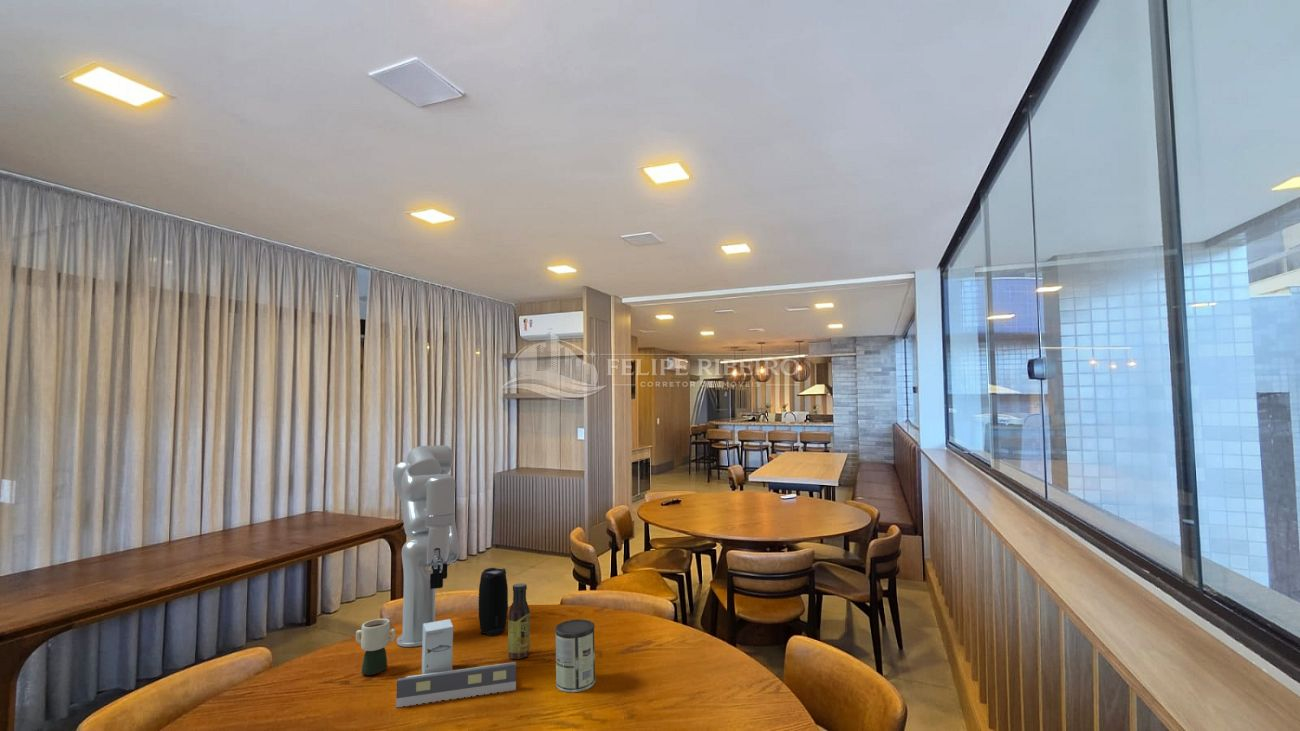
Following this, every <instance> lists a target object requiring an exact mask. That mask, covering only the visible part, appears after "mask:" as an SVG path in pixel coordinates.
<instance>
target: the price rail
mask: <svg viewBox="0 0 1300 731" xmlns="http://www.w3.org/2000/svg"><path fill="white" fill-rule="evenodd" d="M509 663H510V664H503V663H501V664H502V665H496V664H494V665H495V666H489V665H487V666H488V667H481V666H479V667H480V668H474V667H472V668H473V669H466V668H465V669H466V670H459V669H457V670H458V671H451V672H443V673H436V674H429V675H422V674H420V675H421V676H415V675H413V676H414V677H407V676H406V677H407V678H406V677H401V678H400V677H399V678H397V680H396V698H403V697H410V696H417V695H424V694H431V693H438V692H445V691H452V690H459V689H466V688H473V687H480V686H487V685H493V684H500V683H507V682H514V681H516V682H517V662H516V663H511V662H509ZM396 698H395V699H396Z"/></svg>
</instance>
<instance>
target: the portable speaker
mask: <svg viewBox="0 0 1300 731" xmlns="http://www.w3.org/2000/svg"><path fill="white" fill-rule="evenodd" d="M479 580H480V581H479V584H478V585H479V586H478V621H479V628H480V634H481V635H482V634H483V635H484V634H487V635H488V636H489V637H495V636H499V635H501V634H502V633H503V631H504V630H505V629H506V627H507V620H508V613H509V610H508V609H509V596H508V595H509V594H508V593H509V591H508V590H509V588H508V581H507V580H508V579H507V571H506V568H498V567H497V568H495V567H488V568H485V569H484V570H483V571H482V572H481V574H480V579H479ZM498 634H499V635H498ZM494 635H495V636H494Z"/></svg>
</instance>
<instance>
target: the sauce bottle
mask: <svg viewBox="0 0 1300 731" xmlns="http://www.w3.org/2000/svg"><path fill="white" fill-rule="evenodd" d="M527 589H528V588H527V584H526V583H522V582H521V583H520V582H519V583H515V584H513V585H512V591H513V594H512V596H513V598H512V603H511V605H510V607H509V608H508V609H509V610H508V618H507V620H508V624H507V625H508V626H507V634H508V635H507V652H508V653H507V654H508V655H507V656H508V658H509V659H510V660H521V659H524V658H526V657H528V656H529V653H530V646H531V645H530V644H531V643H530V642H531V641H530V639H531V638H530V637H531V636H530V635H531V610H530V608H529V604H528V602H527Z"/></svg>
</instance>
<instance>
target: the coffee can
mask: <svg viewBox="0 0 1300 731" xmlns="http://www.w3.org/2000/svg"><path fill="white" fill-rule="evenodd" d="M595 628H596V627H595V623H594V622H593V621H591V620H588V619H583V618H582V619H579V618H578V619H570V620H565V621H563V622H560V623H558V624H557V625H556V626H555V628H554V632H555V673H556V674H555V675H556V676H555V679H556V681H555V687H556V688H557V690H559V691H561V692H565V693H580V692H583V691H587V690H589V689H590V688H592V687H593V686H594V685H595V683H596V669H595V667H596V666H595V665H596V663H595V662H596V659H595V657H596V656H595Z"/></svg>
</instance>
